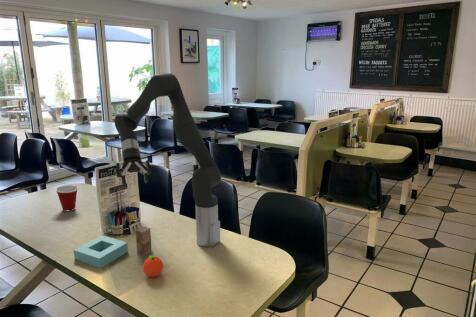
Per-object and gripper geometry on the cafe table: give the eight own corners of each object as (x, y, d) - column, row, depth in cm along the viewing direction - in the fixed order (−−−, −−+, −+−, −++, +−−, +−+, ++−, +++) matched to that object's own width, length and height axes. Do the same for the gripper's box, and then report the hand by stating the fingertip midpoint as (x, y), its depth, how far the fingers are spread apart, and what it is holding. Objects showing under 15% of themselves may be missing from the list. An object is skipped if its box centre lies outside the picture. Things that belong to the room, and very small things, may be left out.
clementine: (139, 272, 128) (138, 255, 126) (157, 266, 132) (156, 249, 130) (148, 283, 122) (147, 264, 120) (166, 276, 126) (165, 258, 124)
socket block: (127, 251, 143) (127, 242, 142) (100, 268, 131) (99, 258, 130) (103, 243, 149) (102, 235, 148) (74, 259, 137) (73, 249, 136)
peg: (151, 250, 143) (150, 228, 141) (144, 255, 140) (143, 232, 137) (144, 248, 145) (142, 226, 143) (137, 252, 142) (135, 230, 139)
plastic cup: (75, 213, 181) (72, 191, 178) (54, 213, 181) (51, 191, 178) (84, 205, 191) (81, 184, 188) (64, 205, 191) (61, 184, 188)
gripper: (113, 148, 151) (118, 181, 144) (147, 145, 156) (153, 177, 149) (114, 157, 157) (118, 189, 150) (146, 154, 162) (152, 185, 155)
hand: (135, 183), depth 149 cm, fingers open, 8 cm apart
